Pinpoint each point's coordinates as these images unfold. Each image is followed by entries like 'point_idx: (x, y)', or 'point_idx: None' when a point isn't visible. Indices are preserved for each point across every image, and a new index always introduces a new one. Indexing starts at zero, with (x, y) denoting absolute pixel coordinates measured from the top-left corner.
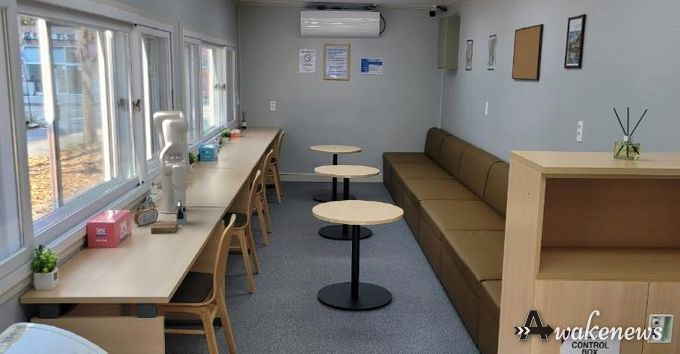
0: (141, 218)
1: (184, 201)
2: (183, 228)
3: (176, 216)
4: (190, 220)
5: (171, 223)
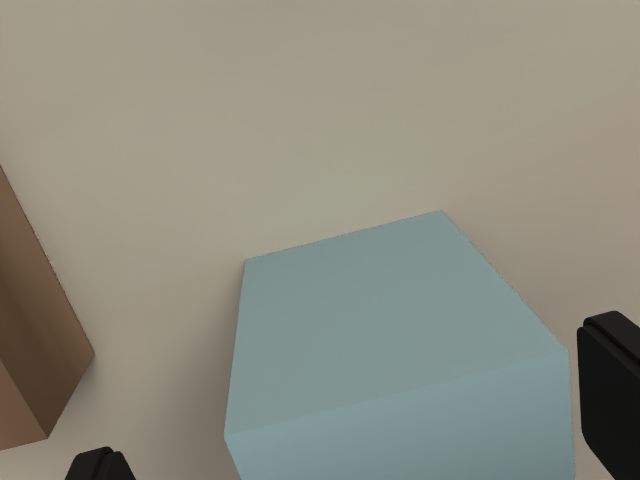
0: None
1: None
2: (18, 475)
3: (231, 386)
4: (570, 384)
5: None
